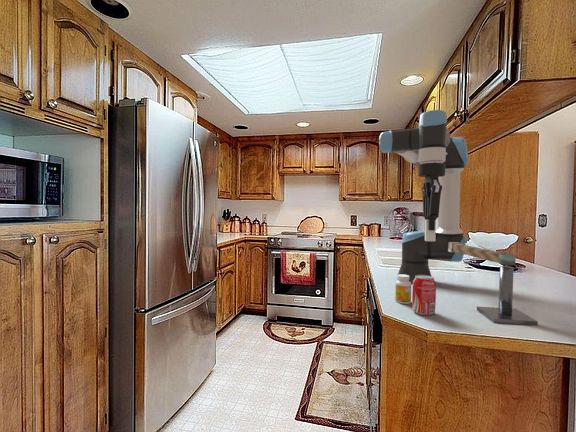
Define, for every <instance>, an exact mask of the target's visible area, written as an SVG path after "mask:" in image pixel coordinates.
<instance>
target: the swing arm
mask: <svg viewBox="0 0 576 432" xmlns="http://www.w3.org/2000/svg"><path fill="white" fill-rule="evenodd" d="M448 252H457V253H461V254H464V256H469V257H474V258H477V259H481V260H484V261H488V262H492V263H497V264H500V265H502V266H515V265H516V260H517V259H516V254H514V253H506V252H502V251H496V250H493V249H488V248H487V249H486V248H482V247H476V246H472V245H468V244H466V245H463V244H461V243H459V242H449V243H448Z"/></svg>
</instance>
